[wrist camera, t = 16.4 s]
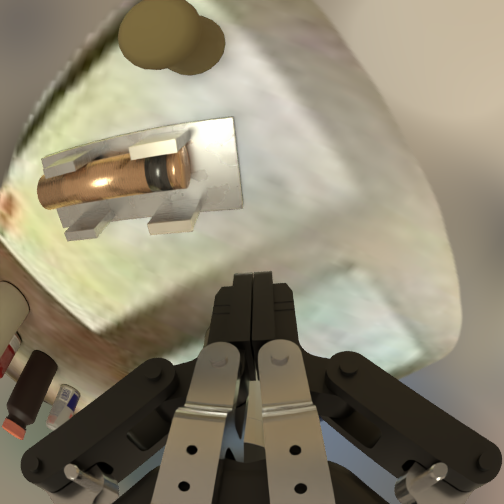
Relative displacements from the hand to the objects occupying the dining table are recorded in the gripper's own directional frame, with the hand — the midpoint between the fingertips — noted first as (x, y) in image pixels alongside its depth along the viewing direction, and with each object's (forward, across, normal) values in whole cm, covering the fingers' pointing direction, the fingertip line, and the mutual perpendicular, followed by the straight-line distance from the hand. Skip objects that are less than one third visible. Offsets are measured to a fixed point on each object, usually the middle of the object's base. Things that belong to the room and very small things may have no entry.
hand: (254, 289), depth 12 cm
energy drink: (+20, +49, +46) cm, 70 cm away
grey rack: (+19, +13, 0) cm, 23 cm away
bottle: (+20, +49, +34) cm, 63 cm away
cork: (+19, +5, -12) cm, 23 cm away
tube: (+18, +14, -2) cm, 23 cm away
